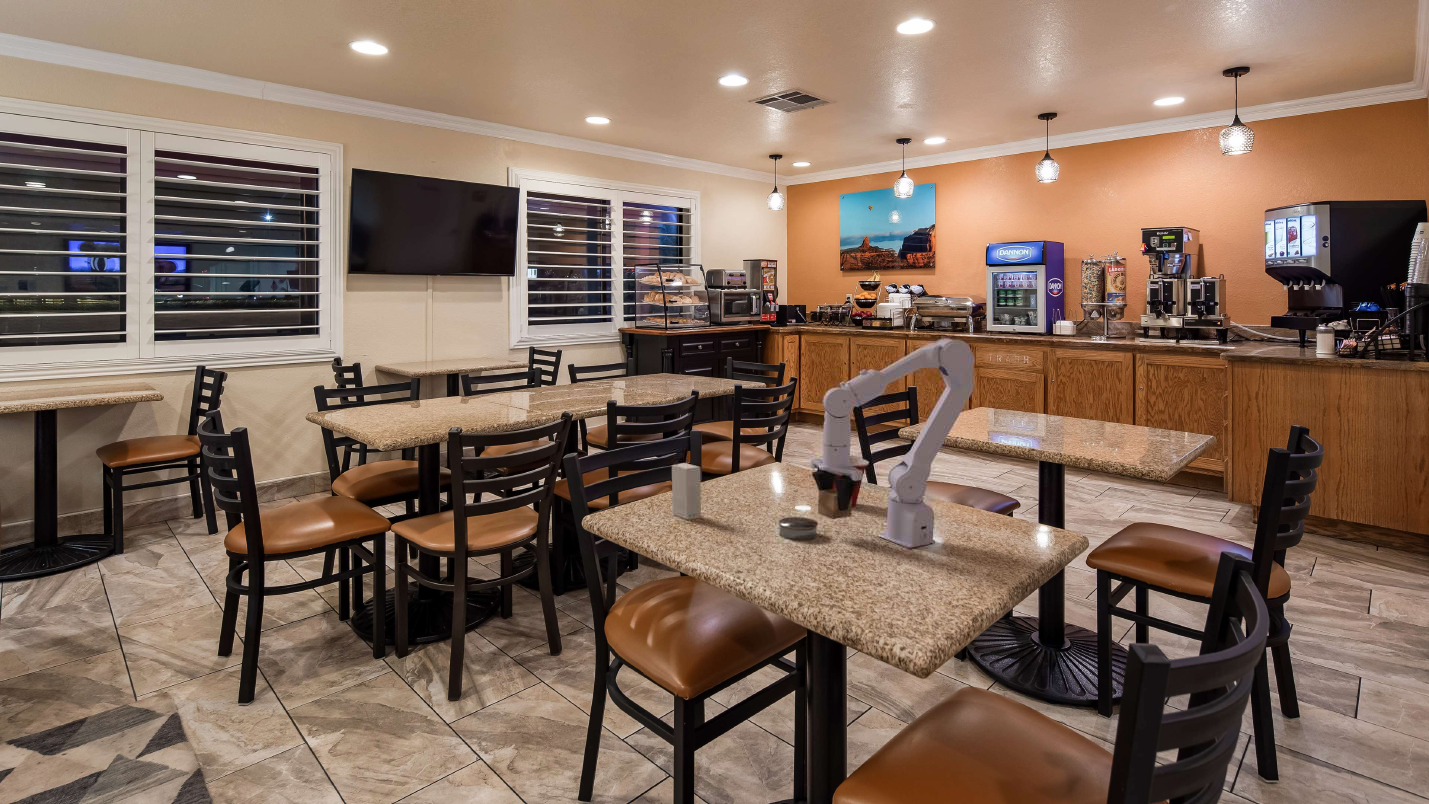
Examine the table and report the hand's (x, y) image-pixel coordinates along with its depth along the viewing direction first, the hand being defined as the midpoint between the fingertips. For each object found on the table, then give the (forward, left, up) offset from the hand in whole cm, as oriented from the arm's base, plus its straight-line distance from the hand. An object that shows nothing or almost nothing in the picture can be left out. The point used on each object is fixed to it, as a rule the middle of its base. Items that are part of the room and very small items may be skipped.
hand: (834, 506), depth 160 cm
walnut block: (0, 0, -2) cm, 2 cm away
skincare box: (+29, +21, -7) cm, 36 cm away
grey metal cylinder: (+5, +6, -7) cm, 10 cm away
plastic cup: (+20, -20, -7) cm, 29 cm away
